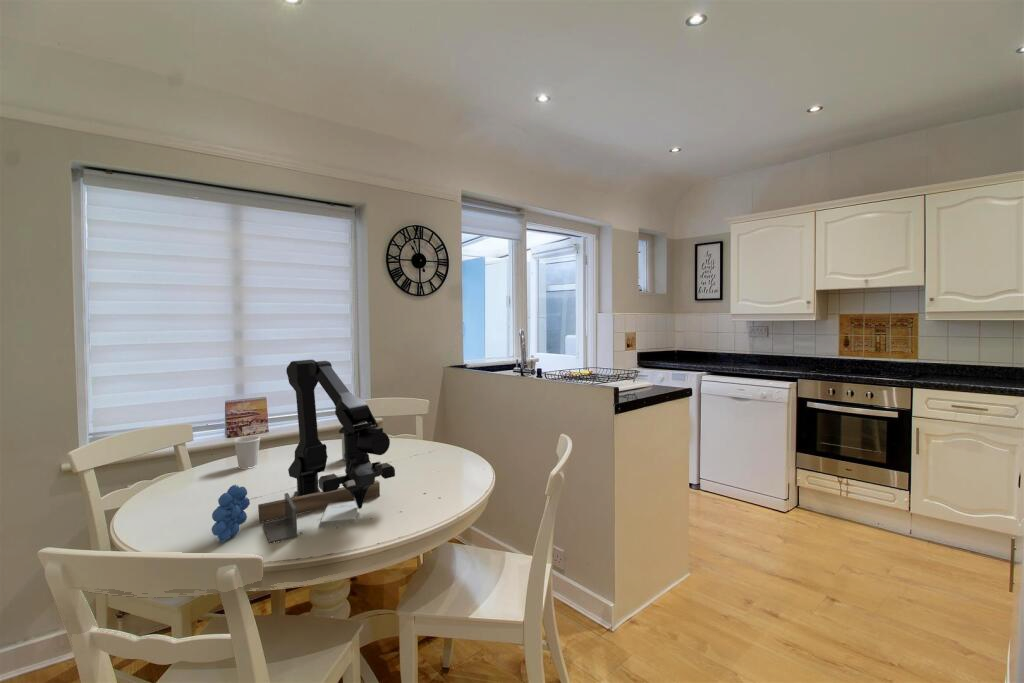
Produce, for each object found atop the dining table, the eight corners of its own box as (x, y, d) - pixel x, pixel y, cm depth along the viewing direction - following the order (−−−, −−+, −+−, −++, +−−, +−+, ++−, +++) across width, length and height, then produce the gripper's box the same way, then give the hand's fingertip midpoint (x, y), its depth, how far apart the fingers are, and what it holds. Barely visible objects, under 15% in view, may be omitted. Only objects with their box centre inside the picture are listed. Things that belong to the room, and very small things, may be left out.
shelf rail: (258, 519, 121) (258, 504, 121) (377, 493, 139) (377, 480, 138) (259, 522, 120) (259, 507, 119) (379, 495, 137) (379, 482, 137)
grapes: (232, 525, 118) (230, 478, 118) (257, 526, 117) (255, 478, 117) (196, 547, 106) (194, 495, 106) (224, 548, 106) (222, 496, 105)
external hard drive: (320, 528, 117) (327, 508, 129) (354, 524, 119) (359, 505, 131) (320, 521, 117) (327, 502, 129) (354, 518, 119) (359, 499, 131)
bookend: (263, 525, 118) (262, 497, 118) (288, 519, 121) (287, 492, 121) (269, 543, 108) (268, 513, 108) (297, 537, 111) (296, 507, 111)
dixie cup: (263, 462, 172) (262, 435, 172) (259, 468, 164) (258, 440, 164) (237, 464, 169) (235, 437, 169) (232, 471, 161) (231, 442, 161)
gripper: (326, 464, 113) (330, 528, 114) (401, 449, 124) (404, 508, 124) (316, 455, 122) (320, 514, 123) (386, 442, 133) (389, 496, 133)
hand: (359, 508), depth 126 cm, fingers closed
